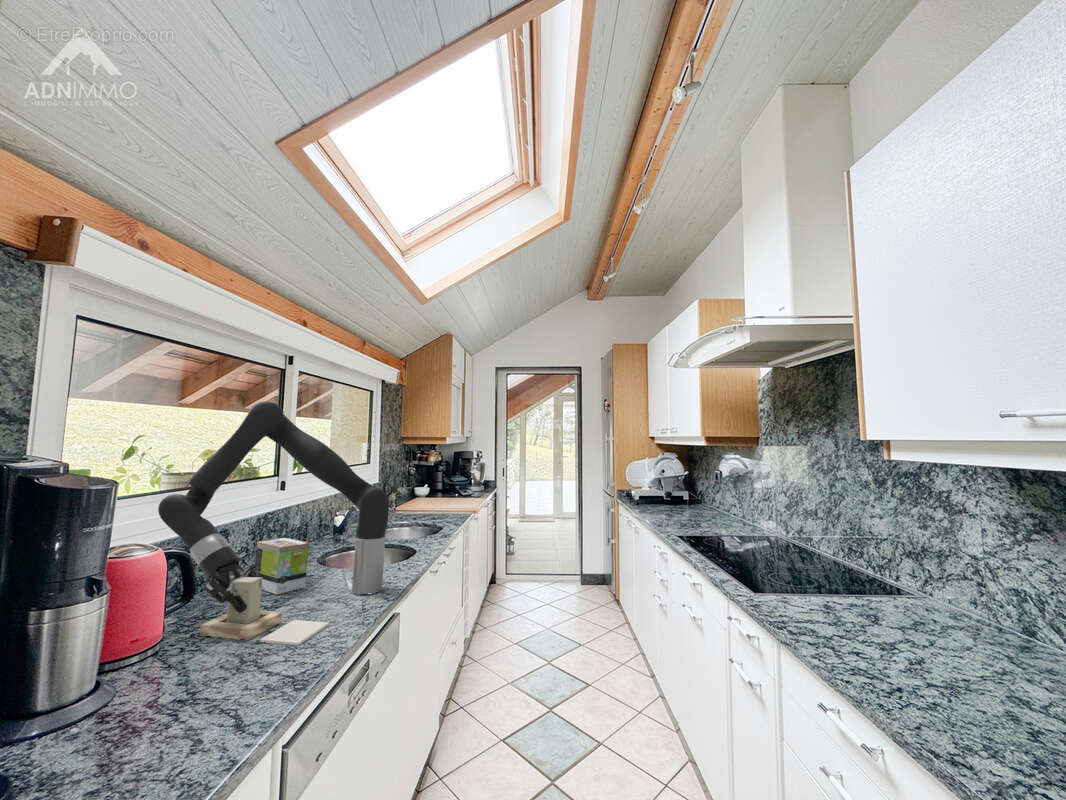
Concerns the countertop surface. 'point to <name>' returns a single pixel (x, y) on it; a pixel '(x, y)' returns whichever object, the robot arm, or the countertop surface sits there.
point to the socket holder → (240, 626)
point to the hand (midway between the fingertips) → (251, 606)
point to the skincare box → (246, 600)
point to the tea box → (282, 564)
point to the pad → (294, 632)
